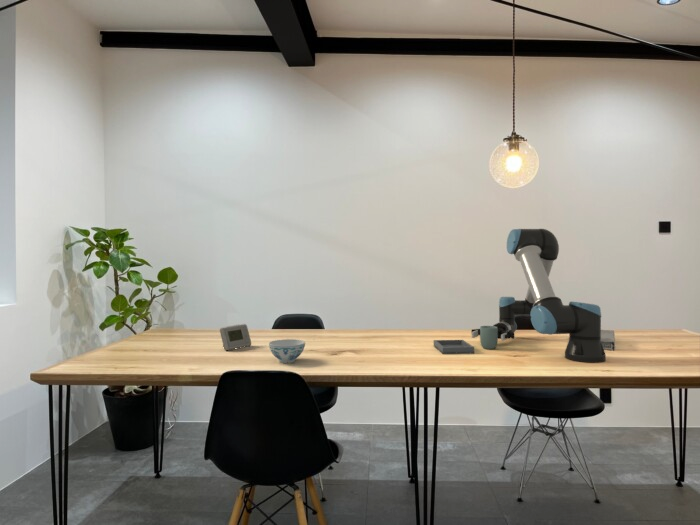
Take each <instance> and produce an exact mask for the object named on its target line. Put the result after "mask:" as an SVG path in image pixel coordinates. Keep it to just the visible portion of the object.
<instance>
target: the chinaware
mask: <svg viewBox="0 0 700 525" xmlns="http://www.w3.org/2000/svg"><path fill="white" fill-rule="evenodd" d="M268 346H269V347H268V348H269V349H270V352H271V354H272V355H273V356H274V357H275V358H276V359H278V362H279V363H282V364H287V362H290V363H294V362H296V359H298V358H299V357H300V356H301V355H302V353H303V352H304V349H305V346H306V340H302V339H293V338H290V339H289V338H287V339H277V340H276V339H275V340H272V341H270V342H268Z"/></svg>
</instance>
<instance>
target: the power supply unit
mask: <svg viewBox="0 0 700 525" xmlns="http://www.w3.org/2000/svg"><path fill="white" fill-rule="evenodd" d="M601 343H602V346H603V349H604V351H614V352H616V336H615V330H611V329H601Z"/></svg>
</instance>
